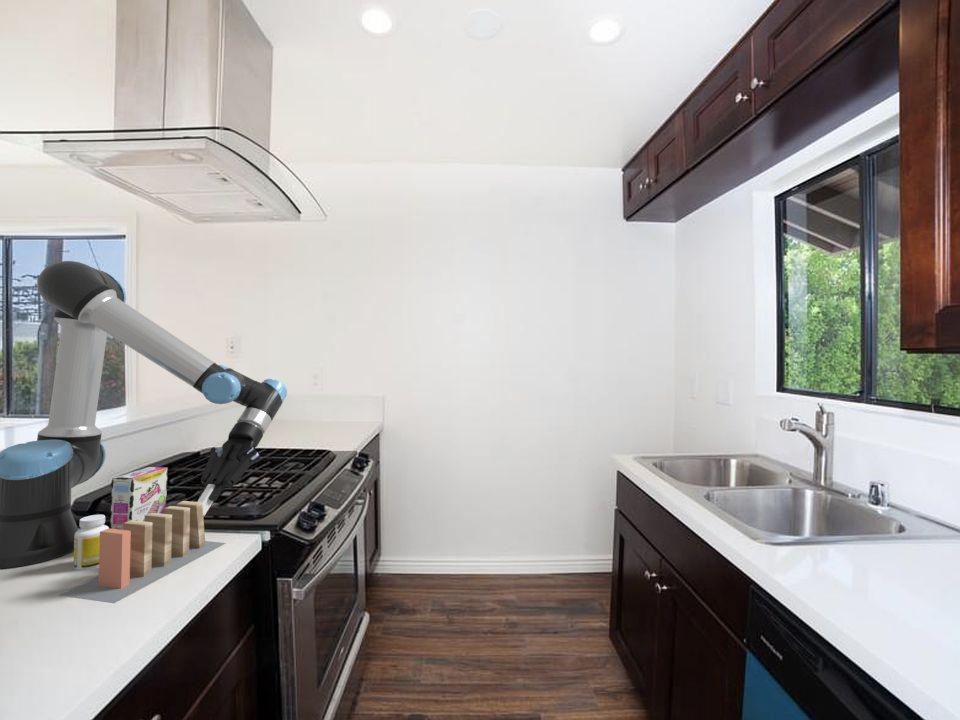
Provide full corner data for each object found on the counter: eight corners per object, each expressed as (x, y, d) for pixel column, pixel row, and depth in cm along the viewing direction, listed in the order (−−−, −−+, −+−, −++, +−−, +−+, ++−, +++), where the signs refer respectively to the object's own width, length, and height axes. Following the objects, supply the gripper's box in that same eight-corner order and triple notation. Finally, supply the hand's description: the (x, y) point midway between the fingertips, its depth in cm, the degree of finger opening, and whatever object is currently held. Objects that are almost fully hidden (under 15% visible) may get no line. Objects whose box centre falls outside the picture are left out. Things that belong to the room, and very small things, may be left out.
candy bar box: (131, 553, 97) (132, 478, 97) (108, 553, 97) (109, 477, 97) (167, 533, 108) (168, 466, 108) (146, 533, 108) (148, 465, 108)
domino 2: (130, 570, 88) (131, 520, 88) (151, 573, 87) (152, 522, 88) (122, 574, 87) (123, 523, 87) (143, 576, 86) (145, 525, 86)
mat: (181, 539, 104) (181, 538, 104) (226, 544, 102) (226, 543, 102) (58, 596, 79) (58, 595, 79) (114, 604, 77) (114, 602, 77)
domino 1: (107, 581, 84) (108, 528, 84) (129, 584, 83) (130, 530, 83) (98, 585, 82) (99, 531, 82) (121, 588, 81) (122, 534, 82)
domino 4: (169, 551, 97) (170, 505, 97) (189, 553, 96) (190, 507, 96) (162, 554, 96) (163, 508, 96) (182, 557, 95) (183, 510, 95)
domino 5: (186, 542, 102) (183, 500, 101) (205, 544, 101) (202, 502, 100) (180, 546, 100) (177, 503, 99) (199, 548, 99) (196, 505, 98)
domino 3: (150, 560, 93) (151, 512, 93) (171, 563, 92) (172, 514, 92) (143, 564, 91) (144, 515, 91) (164, 566, 90) (165, 517, 90)
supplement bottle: (115, 560, 93) (116, 513, 93) (90, 572, 88) (91, 523, 88) (92, 558, 94) (93, 512, 94) (65, 570, 88) (67, 521, 88)
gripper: (278, 438, 120) (231, 522, 103) (235, 436, 122) (183, 518, 105) (265, 421, 114) (215, 507, 98) (221, 419, 117) (163, 502, 100)
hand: (198, 512), depth 102 cm, fingers closed
